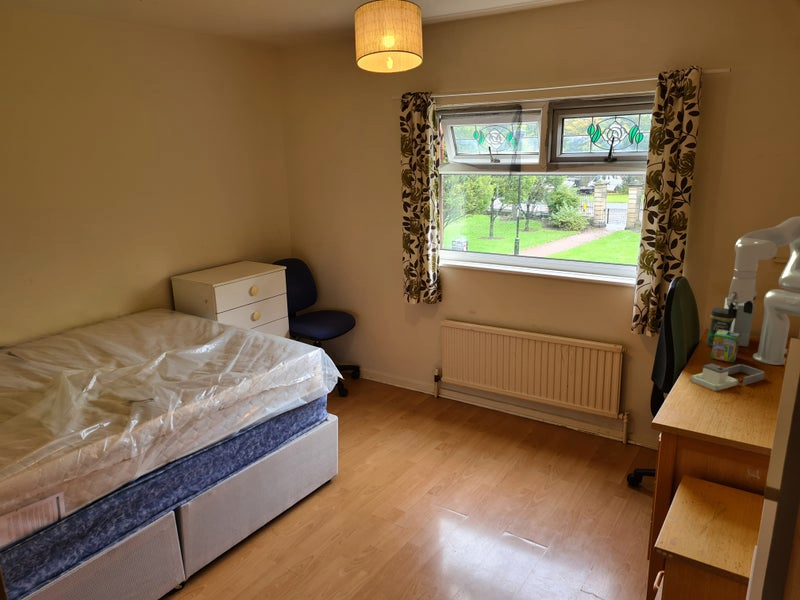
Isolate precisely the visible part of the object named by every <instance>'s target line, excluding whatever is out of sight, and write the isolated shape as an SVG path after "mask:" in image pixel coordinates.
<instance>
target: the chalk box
mask: <svg viewBox="0 0 800 600" xmlns="http://www.w3.org/2000/svg"><path fill="white" fill-rule="evenodd" d="M731 327H732V326H731ZM730 329H731V328H730ZM730 329H729V331H726V330H720V329H718V330H717V332H716V333H715V335H714V341H713V347H712V349H711V356H710V359H712V360H713V359H714V360H719V361H723V362H727V363H735V361H736V359H737V356H738V350H739V347H740V346H739V340H740V335H741V333H737V332H731V331H730Z"/></svg>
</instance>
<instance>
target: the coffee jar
mask: <svg viewBox="0 0 800 600" xmlns="http://www.w3.org/2000/svg"><path fill="white" fill-rule="evenodd" d="M728 310H729V309H726V308H724V307H718V306H714V307H713V308H712V310H711V312H710V320H711V322H710V326H709V331H708V334H707V337H706V345H707V347H708V346H709V347H712V348H713V341H714V335H715V333H716V332H717V330H718V329H720V330H726V331H729V329H730V328H731V326H732V322H733V320H734V318H731V317H728ZM730 331H731V329H730Z"/></svg>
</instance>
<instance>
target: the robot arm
mask: <svg viewBox="0 0 800 600" xmlns="http://www.w3.org/2000/svg"><path fill="white" fill-rule="evenodd" d="M788 245H789V252H790V255H789V259H788V261H787V263H786V264H785V267H784V269H783V270H782V272H781V273H780V276H779V278H778V285H779V287H781V288H782V289H779V288H778V289H777V288H776V289H770V290H769V291H767V292H766V293H765V295H764V297H763V308H764V309H763V311H764V314H763V321H762V326H761V330H760V331H761V332H760V338H759V344H758V349H757V352H756V353H753V355H752V358H753V359H754V360H756V361H758V362H760V363H763V364H767V365H774V366H783V365H786V364H785V361H786V359H787V358H786V357H785V355H786V354H788V353H787V350H788V349H787V348H786V347H787V343H788V336H789V331H790V325H791V324H790V323H791V321H790V318H789V317H788V316H794V317H798V318H799V317H800V216H798V215H797V216H792V217H790V218H787V219H786V220H784V221H782V222H781V223H780V224H778V225H776V226H774V227H769V228H763V229H759V230H753V231H751V232H748V233H746V234H744V235H743V236H741V237H740V238H739V239H738V240H737V241H736V243H735V245H734V252H735V260H734V261H735V262H734V269H733V277H732V279H731V282H730V286H729V291H728V297H726V298H727V305H728V308H729V310H728V317H731V318H736V317H737V309H736V308H737V306H738V305H739V304H740V303H744V302H746V303H744V310H743V312H745V313H749V314H751V313H752V309H753V305H754V304H755V300H756V299H757V298H756V296H757V295H758V291H756V285H757V282H756V281H757V280H756V278H757V271H758V267H759V265H758V264H759V261H765V260H771V259H772V258H774V257H775V256H776V254H777V253H778V247H784V246H788ZM793 291H794V292H793ZM734 300H736V301H734ZM733 303H736V304H735V305H734V304H733Z"/></svg>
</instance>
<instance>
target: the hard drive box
mask: <svg viewBox="0 0 800 600" xmlns="http://www.w3.org/2000/svg"><path fill="white" fill-rule="evenodd" d="M727 298H728V297H725V299H724V307H723V308H726V309H729V308H728V305H727ZM734 301H736V300H734ZM744 303H746V302H744ZM744 303H740V304H739V305H738V306H737V308H736V309H737V317H736V318H734V320H733V322H732V327H731V332H737V333H741V335H740V340H739V346H738V347H749V344H750V337H751V333H752V326H753V319H754V314H755V306H756V305H754V304H753V309H752V313H751V314H749V313H745V312H743V310H744ZM733 304H734V305H735V304H736V303H733Z"/></svg>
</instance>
